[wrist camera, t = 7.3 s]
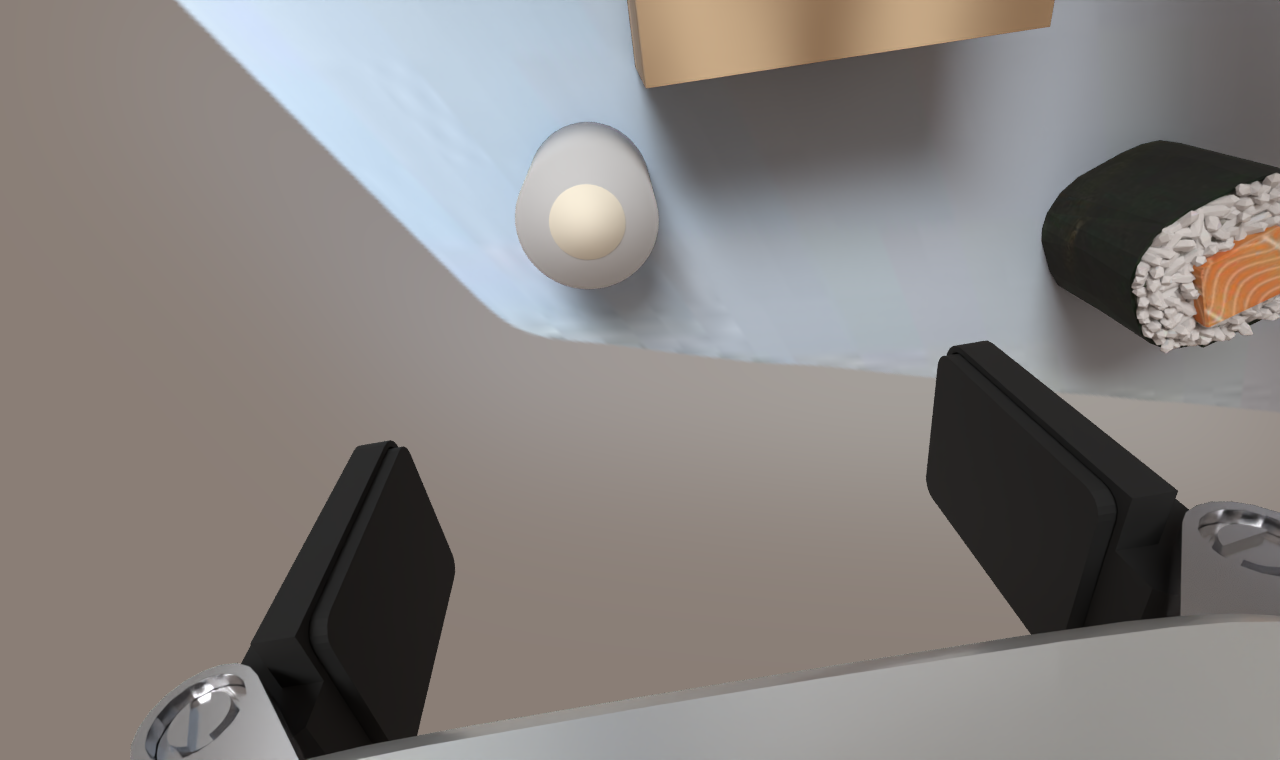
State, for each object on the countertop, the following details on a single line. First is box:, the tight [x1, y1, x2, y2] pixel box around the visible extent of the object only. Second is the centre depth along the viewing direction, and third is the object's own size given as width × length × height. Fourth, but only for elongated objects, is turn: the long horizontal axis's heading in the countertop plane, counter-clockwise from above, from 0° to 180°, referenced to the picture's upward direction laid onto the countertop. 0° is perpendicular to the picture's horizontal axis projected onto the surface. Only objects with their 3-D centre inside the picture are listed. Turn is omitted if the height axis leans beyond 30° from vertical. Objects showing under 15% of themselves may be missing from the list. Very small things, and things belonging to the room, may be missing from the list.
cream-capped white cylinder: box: [515, 122, 659, 289], centre depth 29 cm, size 6×6×6 cm
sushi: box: [1042, 140, 1280, 353], centre depth 31 cm, size 8×8×8 cm
